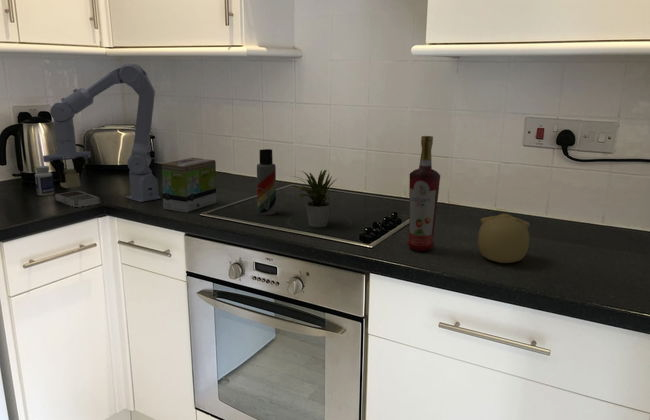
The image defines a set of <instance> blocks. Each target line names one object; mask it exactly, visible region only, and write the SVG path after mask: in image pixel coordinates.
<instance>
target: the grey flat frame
mask: <svg viewBox="0 0 650 420" xmlns="http://www.w3.org/2000/svg"><path fill="white" fill-rule="evenodd" d="M54 199H55V201H57V202H58V203H59V202H60V203H61V204H63V205H67V206H69V205H70V207H72V206H73V207H72V208H74V207H78V208H83V207H82V206H84V207H89V205H90V206H94V205H99V204H100V205H101V198H100V197H99V196H97V195H94V194H90V193H87V192H84V191H81V190H73V191H68V192H61V193H54Z"/></svg>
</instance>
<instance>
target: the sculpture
mask: <svg viewBox="0 0 650 420" xmlns="http://www.w3.org/2000/svg"><path fill="white" fill-rule="evenodd" d="M480 223H481V226H480V227H479V229H478V230H479V231H478V235H477V245H478V249H479V252H480V254H481V256H483V257H484V258H485V259H488V260H490V261H492V262H496V263H501V264H510V263H516V262H519V261H521V260H523V258H524V257H525V256H526V254H527V252H528V251H529V250H528V249H529V247H530V232H529V229H528V228H529V227H530V226H531V224H530V222H529V221H526V220H524V219H521V218H519V217H514V216H512V215H511V214H509V213H501V214H498V215H491V216H487V217H482V218H480Z"/></svg>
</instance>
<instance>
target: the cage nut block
mask: <svg viewBox="0 0 650 420" xmlns="http://www.w3.org/2000/svg"><path fill="white" fill-rule="evenodd" d="M64 178H65V183H61V182H60V181H59V183H60V187H61V188H65V189H69V188H78V187H81V178H79V173H78V172H76V170H75V169H74V168H64Z"/></svg>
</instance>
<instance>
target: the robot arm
mask: <svg viewBox="0 0 650 420" xmlns="http://www.w3.org/2000/svg"><path fill="white" fill-rule="evenodd" d="M119 84H126V85H128V87H130V88H132V90H133V91H134V92H135V93H136V94H137V95H138V100H137V101H138V102H137V113H136V120H135V121H136V122H135V130H134V131H135V132H134V137H133V138H134V140H133V144H132V149H131V155H130V156H129V158H128V159H127V162H126V163H127V167H128V169H129V171H128V174H129V175H128V176H129V187H130V195H126V196H125V198H126V199H129V200H132V201H135V202H139V203H142V202H148V201H152V200H154V201H155V200H158V199H162V196H160V195H159V181H158V179H157V177H156V176H154V175H153V170H152V169H151V168H150V165H151V163H152V158H151V155H150V138H151V129H152V121H153V113H154V105H155V97H156V96H155V94H156V90H155V88H154V86H153V85H152V83H151V80H150V78H149V76H148V73H147V72H146V71H145V70H144V69H143V67H141V66H140V65H138V64H136V63H125V64H124V65H122V66H120V67H117V68H115V69H114V70H112V71H110V72H108V73H106V75H104V76H102V77H101V78H100V79H99V80H97V81H96V82H94V84H91V86H89V87H87V88H83V87H80V88H75V89H73V90H72V92H73V93H71V94H69V95H68V96H67V97H63V98H61V99H60V101H61V102H56V103H54V104H53V105H52V106H51V108H50V110H49V113H50V116H51V118H53V123H54V125H53V126H54V135H55V144H56V151H57V152H56V153H53V154H46V155H42V159H43V160H42V161H43V163H50V165H51V166H52V168H53V169H54V171H55V173H56V175H57V178H58V180H59V183H60V182H61V183H65V178H64V170H65V163H64V162H63V161H66V160H67V161H68V160H71V161H72V164H73V165H72V166H73V169H75V170H76V172H78V173H79V178H80V179H81V177H82V172H83V169H84V166H85V165H86V163H87V162H86V161H87V160H86V158H87V159H88V158H89V159H91V158H92V155H91V151H90V150H89V151H88V150H87V151H86V150H85V151H78V150H77V144H76V142H77V141H76V135H75V134H76V133H75V126H74V117H75V116H76V114H77V115H78V114H79V113H80V112H82V111H84V110H85V109H86V108H88V107H89V106H91V105H92V104H94V98H95V97H96V96H98V95H100V94H102V93H103V92H104V91H106V90H108V89H109V88H110V87H113V86H115V85H119Z"/></svg>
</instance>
